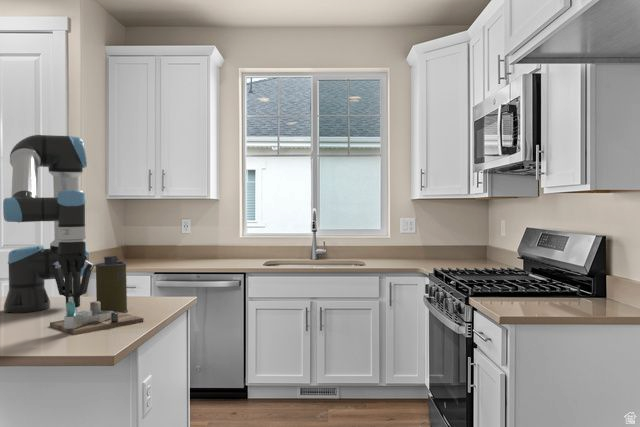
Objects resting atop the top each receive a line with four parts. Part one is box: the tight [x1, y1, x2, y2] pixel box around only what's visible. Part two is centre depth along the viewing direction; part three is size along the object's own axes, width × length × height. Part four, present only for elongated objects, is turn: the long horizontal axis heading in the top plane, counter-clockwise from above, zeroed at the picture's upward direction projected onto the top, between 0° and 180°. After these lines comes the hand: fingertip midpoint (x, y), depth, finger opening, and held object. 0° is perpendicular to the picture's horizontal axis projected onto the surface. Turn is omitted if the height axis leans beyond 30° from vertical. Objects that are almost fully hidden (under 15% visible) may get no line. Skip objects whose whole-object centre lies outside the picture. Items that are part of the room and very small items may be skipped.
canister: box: [94, 255, 129, 314], centre depth 189 cm, size 11×10×20 cm
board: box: [49, 300, 145, 335], centre depth 169 cm, size 18×22×7 cm
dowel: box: [111, 313, 118, 323], centre depth 166 cm, size 2×2×4 cm
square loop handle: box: [63, 302, 114, 329], centre depth 165 cm, size 17×8×8 cm, turn 169°
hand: (73, 318), depth 162 cm, fingers closed
